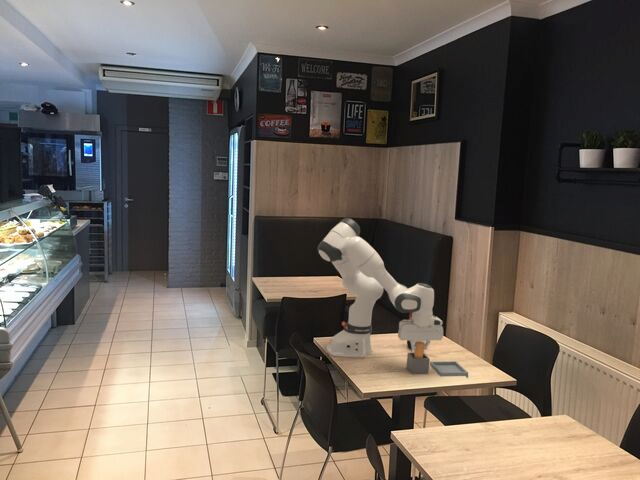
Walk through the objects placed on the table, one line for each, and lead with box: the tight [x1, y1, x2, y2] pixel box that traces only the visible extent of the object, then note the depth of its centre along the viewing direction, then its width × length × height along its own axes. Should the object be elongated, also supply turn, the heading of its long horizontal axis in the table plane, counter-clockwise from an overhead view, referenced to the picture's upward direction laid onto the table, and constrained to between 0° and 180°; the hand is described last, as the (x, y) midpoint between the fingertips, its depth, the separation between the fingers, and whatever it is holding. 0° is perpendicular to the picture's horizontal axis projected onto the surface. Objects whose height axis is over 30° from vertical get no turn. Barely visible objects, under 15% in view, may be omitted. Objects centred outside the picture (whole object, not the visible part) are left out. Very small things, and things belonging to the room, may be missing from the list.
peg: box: [414, 341, 425, 358], centre depth 238 cm, size 4×4×13 cm
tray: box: [429, 360, 469, 379], centre depth 242 cm, size 13×13×2 cm
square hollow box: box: [406, 352, 431, 375], centre depth 239 cm, size 8×8×8 cm
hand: (419, 349), depth 238 cm, fingers closed on peg, 4 cm apart
